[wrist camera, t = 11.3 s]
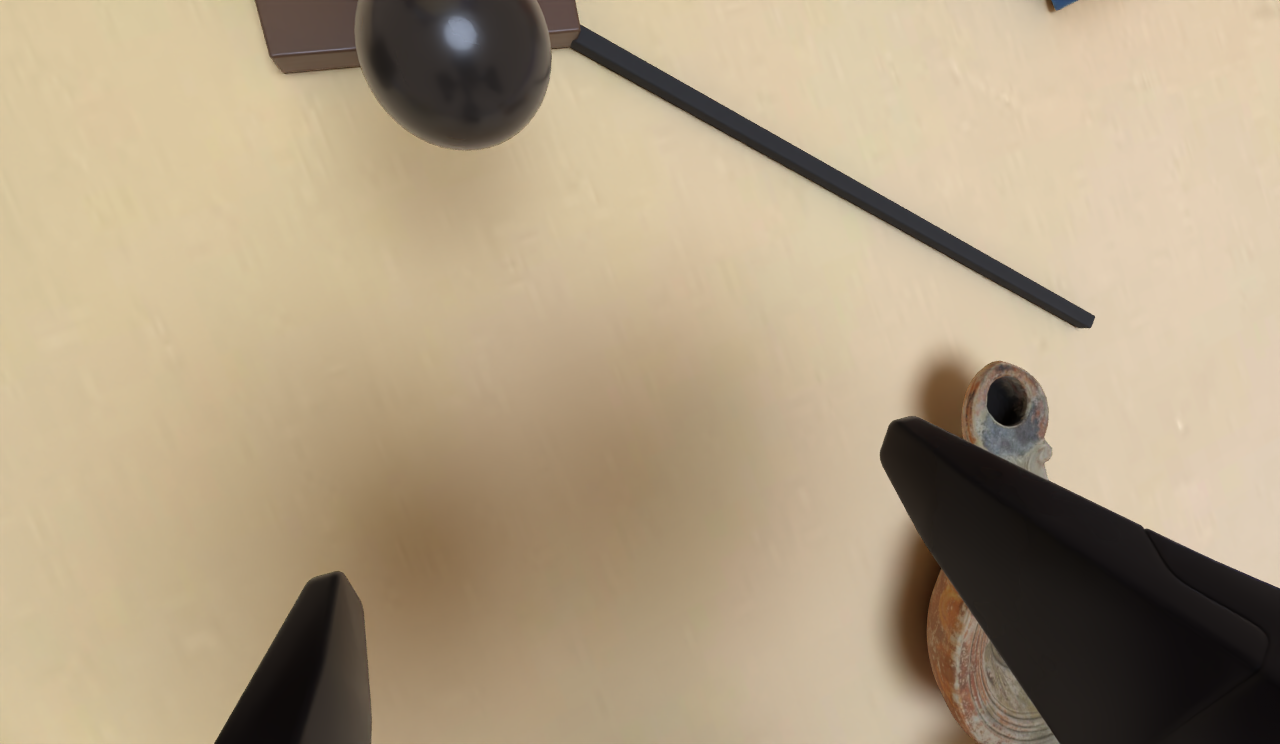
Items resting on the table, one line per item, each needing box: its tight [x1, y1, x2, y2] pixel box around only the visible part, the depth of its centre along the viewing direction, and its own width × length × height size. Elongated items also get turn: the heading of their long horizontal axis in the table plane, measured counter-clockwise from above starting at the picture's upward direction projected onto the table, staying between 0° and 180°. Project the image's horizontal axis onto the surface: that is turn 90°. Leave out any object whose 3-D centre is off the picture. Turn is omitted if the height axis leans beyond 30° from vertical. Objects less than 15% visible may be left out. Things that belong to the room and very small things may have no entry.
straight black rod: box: [570, 25, 1095, 328], centre depth 23 cm, size 25×1×1 cm, turn 67°
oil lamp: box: [927, 361, 1059, 744], centre depth 22 cm, size 9×21×10 cm, turn 9°
